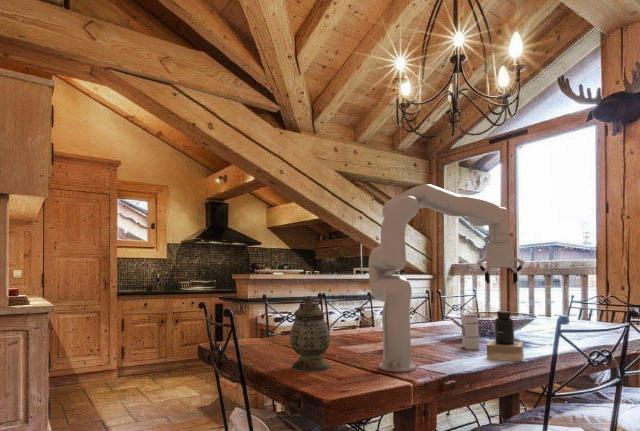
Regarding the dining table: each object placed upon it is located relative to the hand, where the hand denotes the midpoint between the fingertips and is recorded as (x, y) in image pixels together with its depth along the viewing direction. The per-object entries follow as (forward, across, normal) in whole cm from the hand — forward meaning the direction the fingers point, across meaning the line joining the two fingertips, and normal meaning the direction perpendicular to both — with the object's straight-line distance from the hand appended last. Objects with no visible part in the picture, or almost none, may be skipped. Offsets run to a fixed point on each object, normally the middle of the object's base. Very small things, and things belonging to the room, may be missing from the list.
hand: (501, 283), depth 184 cm
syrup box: (+28, -15, +15) cm, 35 cm away
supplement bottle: (+23, 0, 0) cm, 23 cm away
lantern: (+29, -60, -46) cm, 80 cm away
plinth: (+28, 0, 0) cm, 28 cm away
